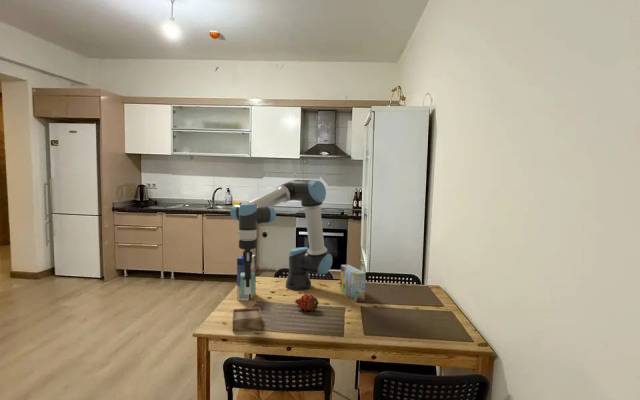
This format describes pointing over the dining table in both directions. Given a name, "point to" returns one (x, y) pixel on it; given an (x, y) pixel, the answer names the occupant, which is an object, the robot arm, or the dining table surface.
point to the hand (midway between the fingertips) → (247, 291)
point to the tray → (247, 319)
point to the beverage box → (241, 270)
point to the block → (251, 283)
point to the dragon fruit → (307, 302)
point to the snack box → (353, 282)
